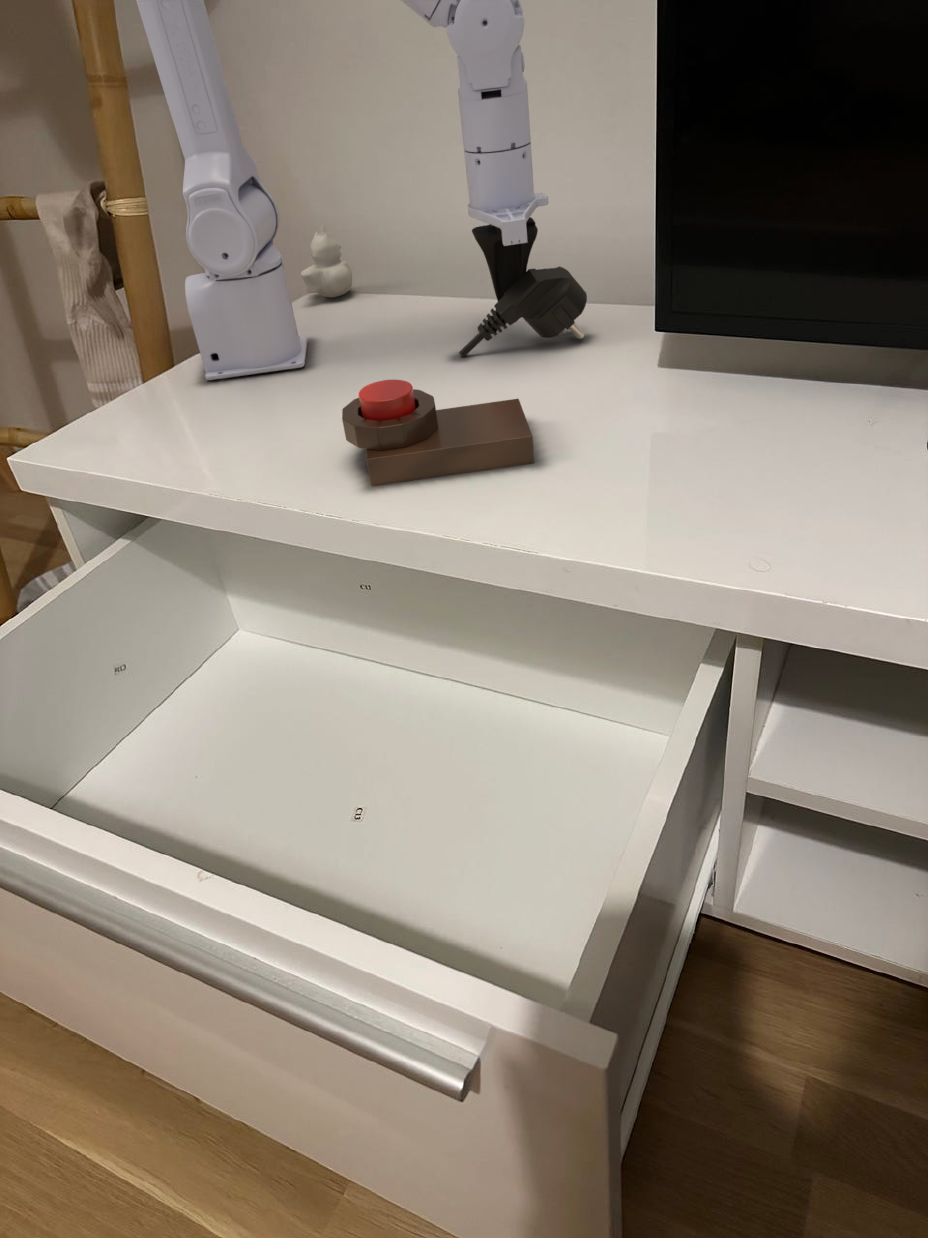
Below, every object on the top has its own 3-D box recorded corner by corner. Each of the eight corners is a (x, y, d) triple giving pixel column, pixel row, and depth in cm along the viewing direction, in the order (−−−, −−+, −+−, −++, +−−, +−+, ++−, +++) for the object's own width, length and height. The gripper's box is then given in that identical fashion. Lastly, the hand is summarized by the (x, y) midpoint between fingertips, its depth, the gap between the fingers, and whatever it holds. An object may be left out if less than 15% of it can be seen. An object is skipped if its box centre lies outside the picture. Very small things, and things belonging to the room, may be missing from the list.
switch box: (351, 489, 67) (341, 439, 65) (351, 442, 73) (342, 395, 71) (534, 463, 67) (531, 412, 65) (518, 419, 74) (515, 371, 71)
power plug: (448, 335, 87) (544, 241, 83) (497, 382, 92) (590, 296, 88) (463, 364, 83) (564, 267, 79) (513, 412, 88) (611, 323, 84)
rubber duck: (367, 291, 106) (355, 217, 101) (324, 309, 102) (310, 233, 98) (335, 286, 109) (322, 214, 104) (293, 303, 105) (277, 229, 101)
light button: (362, 426, 67) (358, 404, 66) (362, 405, 70) (358, 383, 69) (417, 419, 67) (413, 396, 66) (414, 398, 70) (411, 375, 69)
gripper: (559, 153, 73) (567, 324, 81) (530, 126, 84) (539, 277, 92) (471, 166, 73) (488, 336, 81) (453, 137, 84) (470, 287, 92)
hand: (510, 305), depth 86 cm, fingers closed, pressing on power plug
